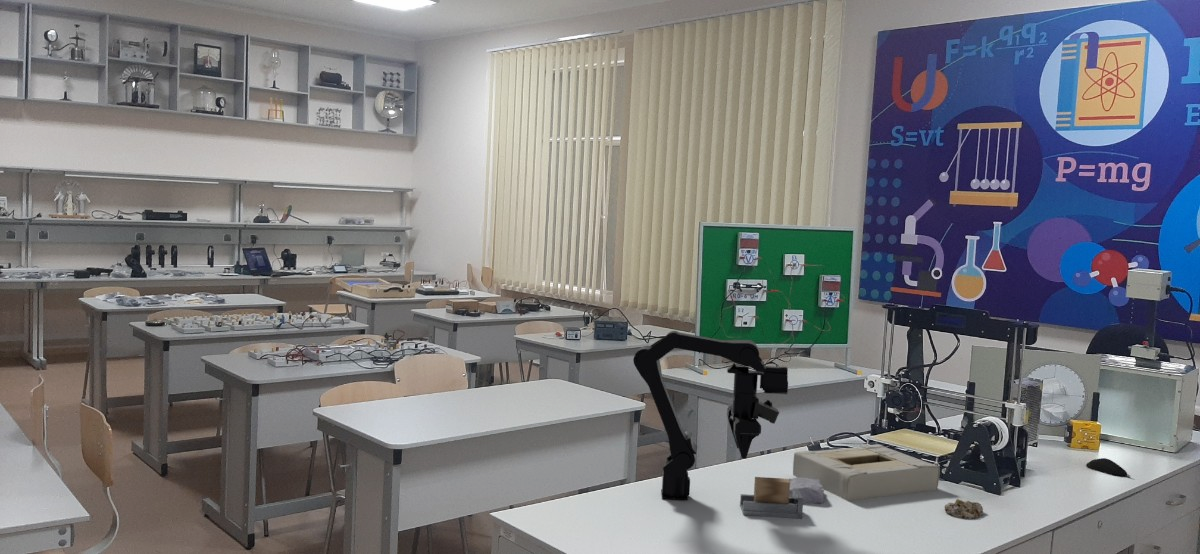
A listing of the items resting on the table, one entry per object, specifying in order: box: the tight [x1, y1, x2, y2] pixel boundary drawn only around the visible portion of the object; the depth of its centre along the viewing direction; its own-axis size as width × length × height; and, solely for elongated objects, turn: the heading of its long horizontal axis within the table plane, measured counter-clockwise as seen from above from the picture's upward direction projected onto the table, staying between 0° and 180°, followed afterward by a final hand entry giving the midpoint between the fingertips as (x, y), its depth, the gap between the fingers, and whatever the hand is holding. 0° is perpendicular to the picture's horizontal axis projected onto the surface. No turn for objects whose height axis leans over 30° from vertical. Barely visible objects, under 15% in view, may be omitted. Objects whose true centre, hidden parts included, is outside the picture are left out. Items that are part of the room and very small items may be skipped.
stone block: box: [787, 476, 825, 504], centre depth 227 cm, size 12×5×10 cm
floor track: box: [739, 489, 804, 519], centre depth 213 cm, size 14×7×5 cm, turn 88°
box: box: [792, 443, 941, 501], centre depth 241 cm, size 23×8×32 cm
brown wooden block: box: [753, 476, 790, 503], centre depth 213 cm, size 8×3×7 cm, turn 88°
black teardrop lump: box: [1085, 457, 1135, 480], centre depth 263 cm, size 6×15×4 cm, turn 25°
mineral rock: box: [943, 498, 984, 520], centre depth 219 cm, size 11×4×8 cm
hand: (741, 453), depth 218 cm, fingers open, 9 cm apart
